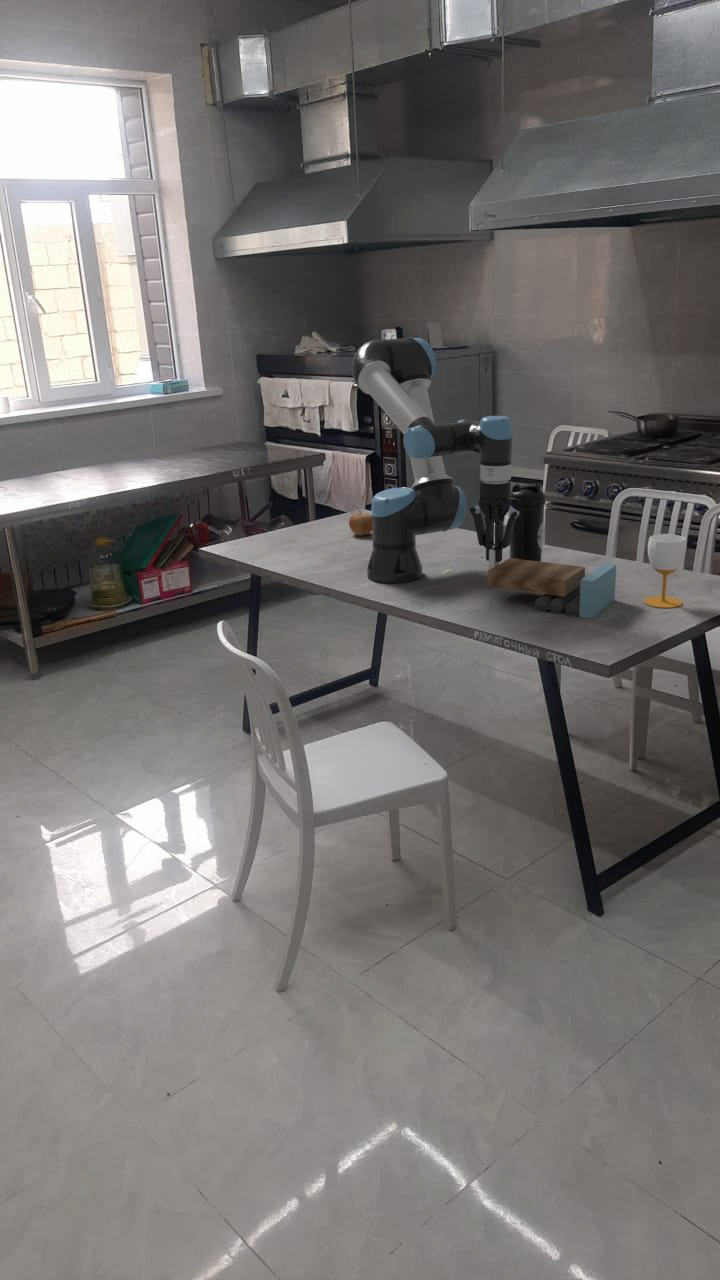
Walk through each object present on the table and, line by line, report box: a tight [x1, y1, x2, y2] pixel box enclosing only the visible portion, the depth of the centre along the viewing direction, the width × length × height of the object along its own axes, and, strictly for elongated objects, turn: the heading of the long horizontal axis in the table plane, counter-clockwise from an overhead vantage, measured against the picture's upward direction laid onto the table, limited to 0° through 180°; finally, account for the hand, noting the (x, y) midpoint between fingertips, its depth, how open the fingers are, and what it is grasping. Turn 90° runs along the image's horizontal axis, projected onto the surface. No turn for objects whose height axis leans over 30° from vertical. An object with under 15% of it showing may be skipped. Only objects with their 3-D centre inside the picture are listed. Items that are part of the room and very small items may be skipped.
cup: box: [643, 533, 688, 609], centre depth 231 cm, size 9×9×16 cm
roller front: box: [564, 595, 580, 617], centre depth 233 cm, size 16×4×4 cm, turn 148°
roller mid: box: [548, 586, 580, 615], centre depth 235 cm, size 16×4×4 cm
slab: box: [487, 557, 586, 597], centre depth 238 cm, size 20×13×4 cm, turn 57°
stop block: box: [578, 562, 617, 619], centre depth 230 cm, size 3×16×9 cm, turn 147°
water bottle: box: [509, 482, 547, 562], centre depth 265 cm, size 10×10×23 cm
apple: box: [348, 510, 372, 537], centre depth 309 cm, size 8×8×8 cm
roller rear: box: [534, 594, 558, 613], centre depth 237 cm, size 16×4×4 cm
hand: (493, 573), depth 245 cm, fingers closed
